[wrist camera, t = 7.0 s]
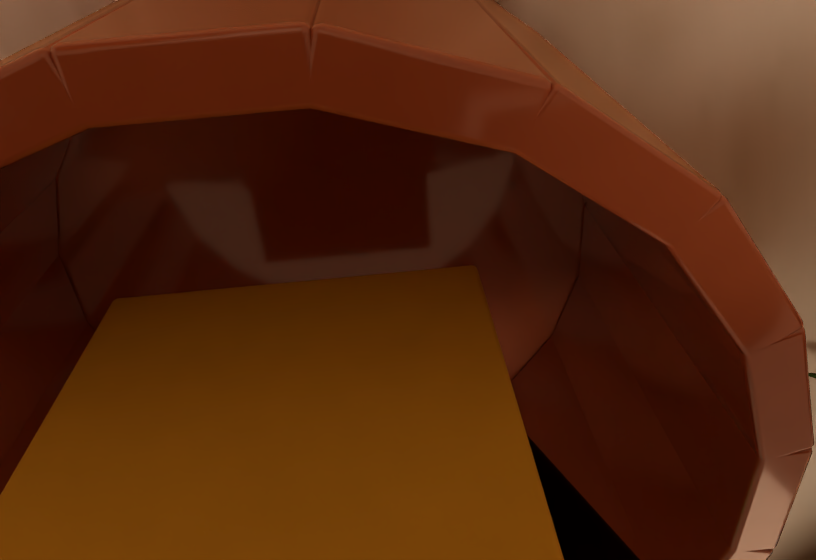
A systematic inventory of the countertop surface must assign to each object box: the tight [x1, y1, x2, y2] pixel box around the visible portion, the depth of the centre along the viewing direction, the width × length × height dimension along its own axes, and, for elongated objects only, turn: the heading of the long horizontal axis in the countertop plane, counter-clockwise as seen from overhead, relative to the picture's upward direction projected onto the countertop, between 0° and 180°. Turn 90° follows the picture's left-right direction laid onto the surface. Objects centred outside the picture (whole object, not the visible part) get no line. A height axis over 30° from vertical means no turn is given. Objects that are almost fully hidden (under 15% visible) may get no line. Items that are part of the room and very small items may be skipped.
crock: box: [0, 0, 814, 560], centre depth 10 cm, size 11×11×7 cm
